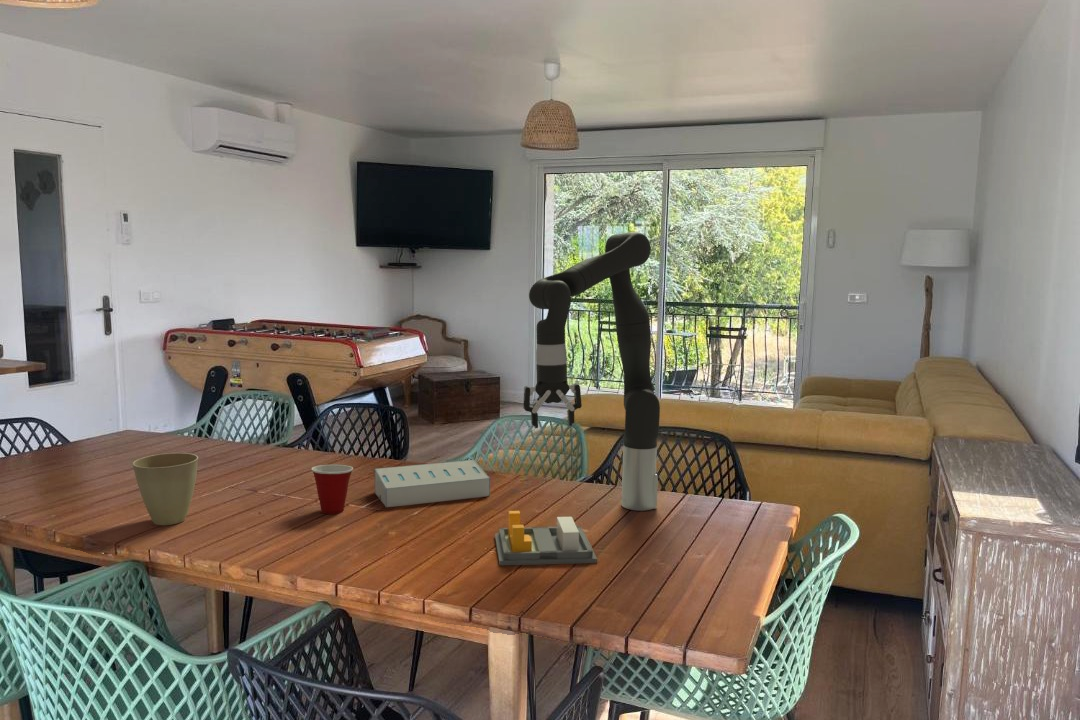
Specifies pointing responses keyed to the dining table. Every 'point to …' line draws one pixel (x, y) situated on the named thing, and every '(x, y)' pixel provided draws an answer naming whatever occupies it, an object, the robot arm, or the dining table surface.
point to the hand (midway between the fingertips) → (552, 426)
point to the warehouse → (431, 483)
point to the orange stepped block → (518, 534)
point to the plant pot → (167, 485)
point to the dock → (548, 545)
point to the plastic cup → (332, 486)
